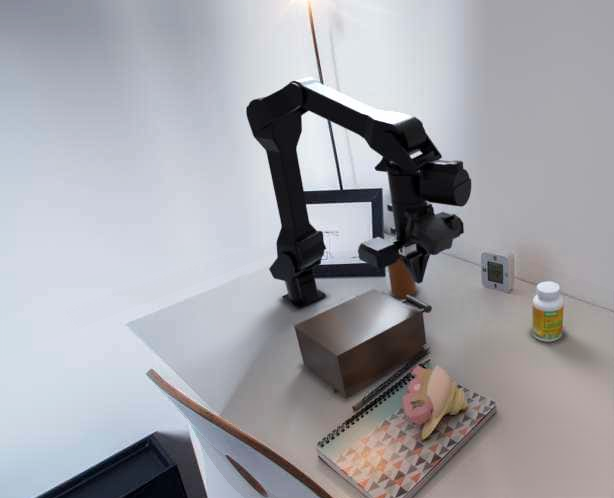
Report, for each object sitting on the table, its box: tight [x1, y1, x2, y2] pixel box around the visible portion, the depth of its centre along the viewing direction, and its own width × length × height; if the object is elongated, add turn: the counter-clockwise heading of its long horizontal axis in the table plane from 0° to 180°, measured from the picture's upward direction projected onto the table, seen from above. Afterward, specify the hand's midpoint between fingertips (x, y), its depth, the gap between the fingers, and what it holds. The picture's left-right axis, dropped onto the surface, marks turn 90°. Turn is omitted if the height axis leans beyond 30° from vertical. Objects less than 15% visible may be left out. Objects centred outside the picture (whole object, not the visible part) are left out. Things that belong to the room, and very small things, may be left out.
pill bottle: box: [387, 258, 417, 299], centre depth 107 cm, size 5×5×10 cm
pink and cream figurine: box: [401, 364, 469, 440], centre depth 75 cm, size 9×10×10 cm
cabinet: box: [293, 288, 425, 399], centre depth 88 cm, size 16×13×8 cm
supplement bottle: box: [531, 280, 565, 343], centre depth 93 cm, size 5×5×10 cm
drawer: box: [380, 291, 433, 346], centre depth 90 cm, size 19×11×6 cm, turn 137°
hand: (418, 282), depth 94 cm, fingers closed
